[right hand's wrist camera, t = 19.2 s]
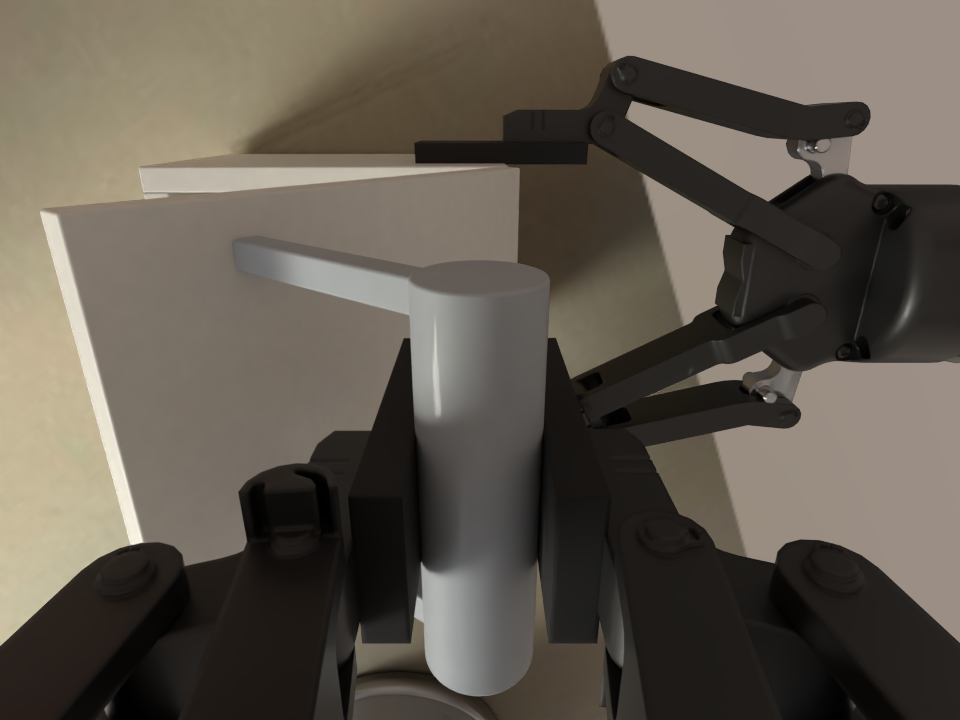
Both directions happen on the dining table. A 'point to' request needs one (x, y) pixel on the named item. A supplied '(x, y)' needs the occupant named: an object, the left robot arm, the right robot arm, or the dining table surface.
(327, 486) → the right robot arm
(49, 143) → the dining table surface
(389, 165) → the chest
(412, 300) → the lid
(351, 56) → the dining table surface
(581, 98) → the dining table surface
